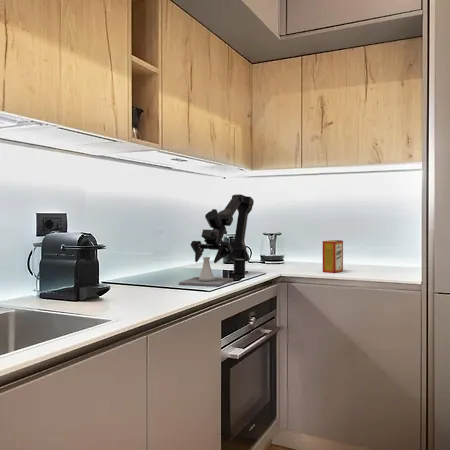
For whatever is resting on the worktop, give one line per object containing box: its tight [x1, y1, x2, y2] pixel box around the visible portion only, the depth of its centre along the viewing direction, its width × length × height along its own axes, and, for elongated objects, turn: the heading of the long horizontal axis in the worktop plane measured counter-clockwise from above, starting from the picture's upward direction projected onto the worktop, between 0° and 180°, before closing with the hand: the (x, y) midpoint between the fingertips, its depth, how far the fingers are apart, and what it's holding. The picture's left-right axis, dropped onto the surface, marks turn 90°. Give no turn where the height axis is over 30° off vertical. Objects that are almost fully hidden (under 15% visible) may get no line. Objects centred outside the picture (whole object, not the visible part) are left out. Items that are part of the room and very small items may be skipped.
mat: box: [178, 276, 234, 288], centre depth 202 cm, size 18×18×1 cm
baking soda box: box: [322, 239, 344, 274], centre depth 236 cm, size 10×6×16 cm
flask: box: [198, 256, 215, 281], centre depth 202 cm, size 7×7×10 cm
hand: (205, 262), depth 201 cm, fingers open, 9 cm apart
